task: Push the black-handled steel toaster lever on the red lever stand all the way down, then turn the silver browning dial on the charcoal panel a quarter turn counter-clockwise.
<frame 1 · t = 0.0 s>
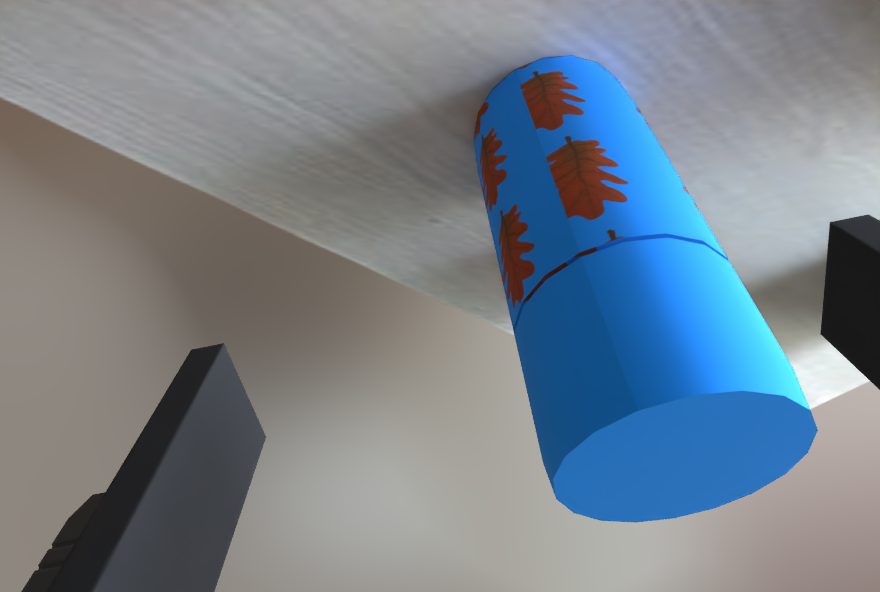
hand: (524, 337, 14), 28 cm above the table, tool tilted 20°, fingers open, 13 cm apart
thermos: (549, 128, 42), on the table
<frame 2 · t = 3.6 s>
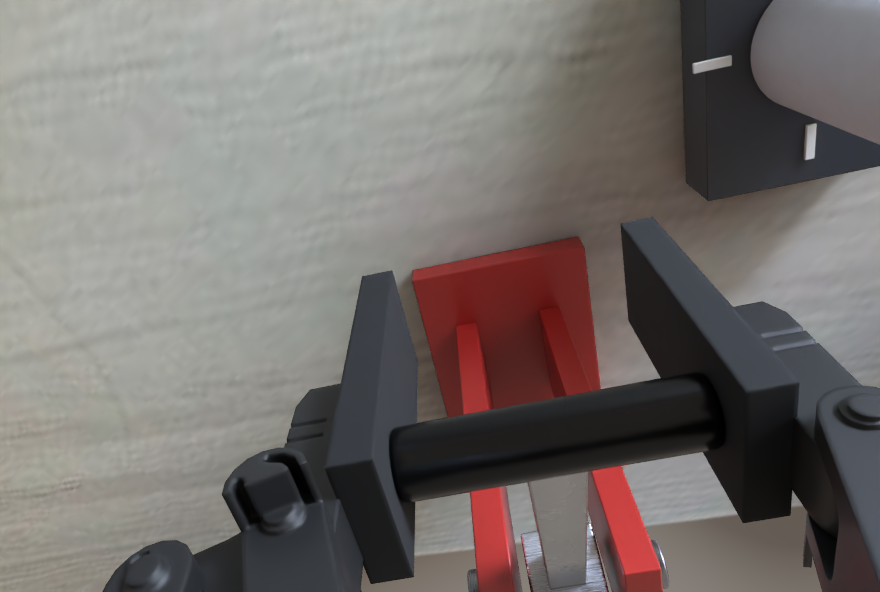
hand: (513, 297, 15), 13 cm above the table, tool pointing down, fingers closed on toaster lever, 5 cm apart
red lever stand: (511, 340, 32), on the table
dial panel: (781, 34, 25), on the table
toaster lever: (560, 532, 16), point 16 cm above the table, hinge at 25.0°, touching gripper
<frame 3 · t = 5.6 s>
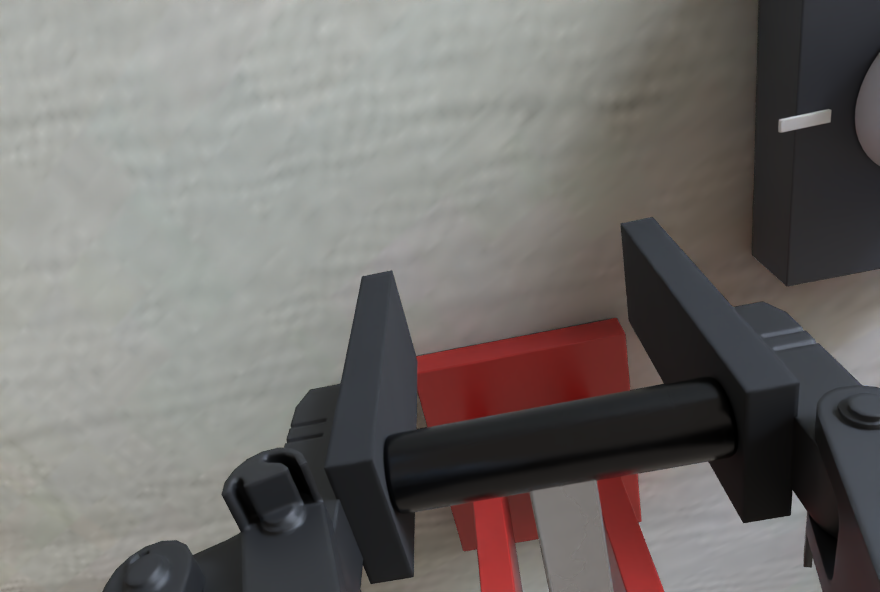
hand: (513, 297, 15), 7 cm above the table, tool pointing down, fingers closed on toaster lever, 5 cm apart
red lever stand: (531, 434, 27), on the table
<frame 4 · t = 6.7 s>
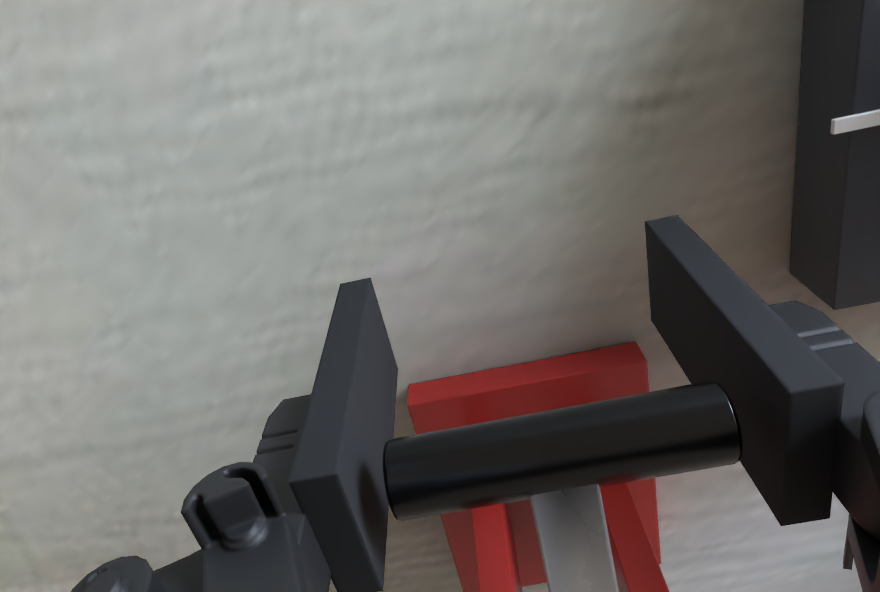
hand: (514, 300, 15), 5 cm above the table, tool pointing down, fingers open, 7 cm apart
red lever stand: (540, 468, 24), on the table
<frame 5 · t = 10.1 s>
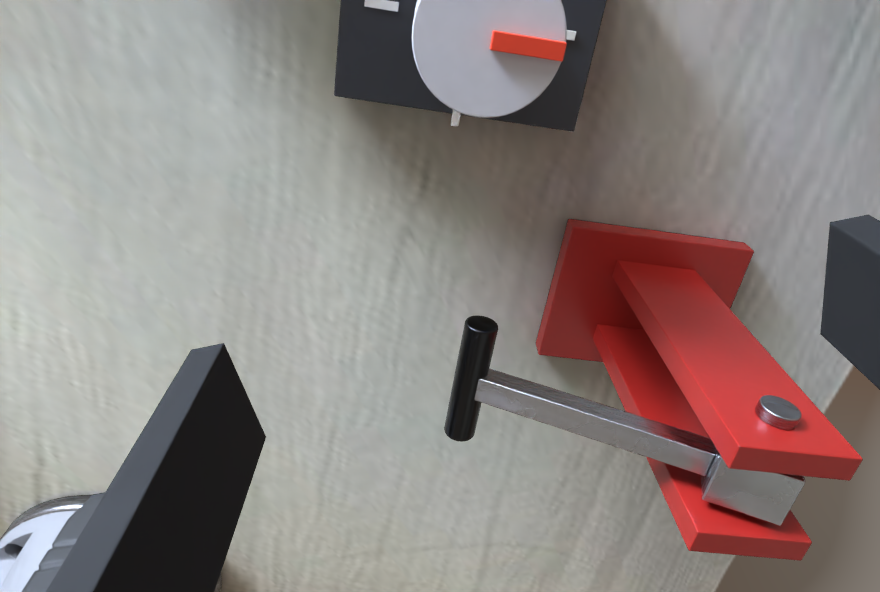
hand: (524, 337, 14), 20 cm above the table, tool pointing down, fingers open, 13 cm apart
browning dial: (479, 27, 23), point 7 cm above the table, hinge at 0.0°
red lever stand: (635, 295, 36), on the table
dial panel: (467, 14, 29), on the table
toaster lever: (611, 426, 25), point 12 cm above the table, hinge at -20.3°
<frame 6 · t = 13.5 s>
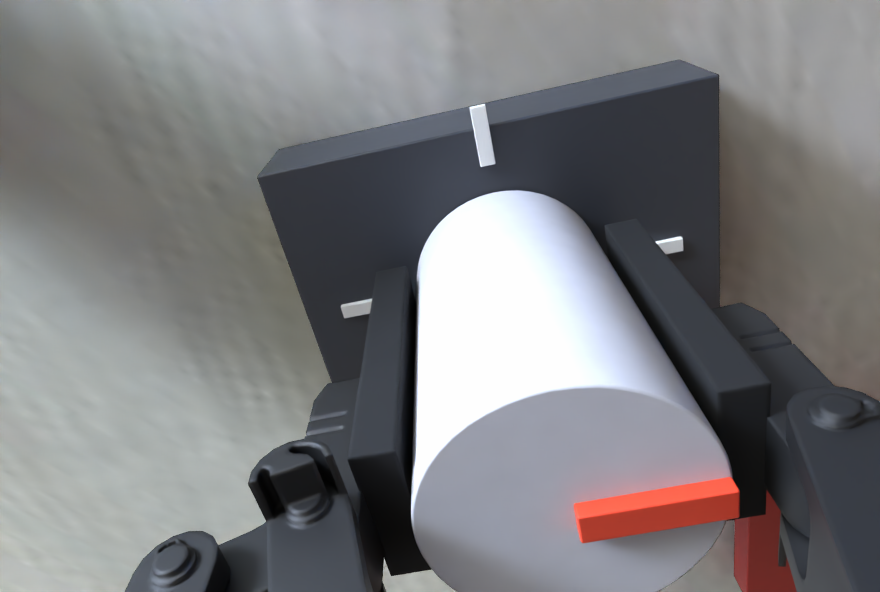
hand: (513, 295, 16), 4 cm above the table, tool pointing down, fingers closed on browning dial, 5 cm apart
browning dial: (532, 368, 13), point 7 cm above the table, hinge at 0.0°, touching gripper
red lever stand: (868, 485, 24), on the table
dial panel: (498, 239, 19), on the table
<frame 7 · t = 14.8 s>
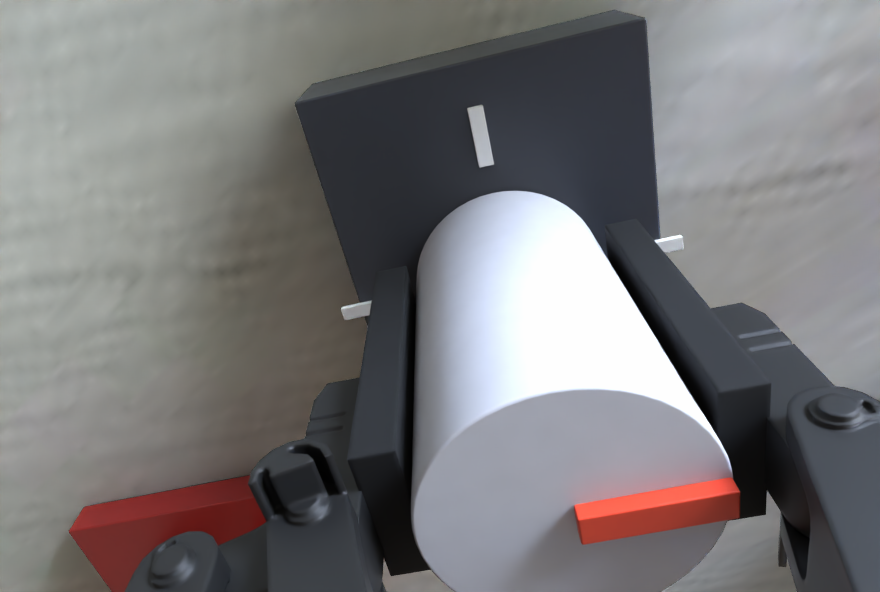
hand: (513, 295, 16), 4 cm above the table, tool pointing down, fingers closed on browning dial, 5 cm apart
browning dial: (532, 369, 13), point 7 cm above the table, hinge at 89.9°, touching gripper
red lever stand: (235, 575, 25), on the table
dial panel: (498, 239, 19), on the table
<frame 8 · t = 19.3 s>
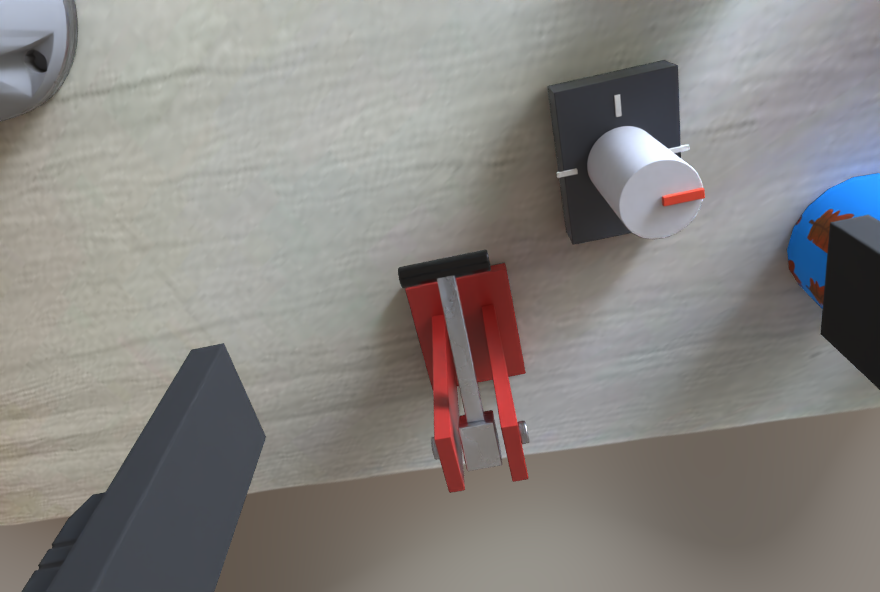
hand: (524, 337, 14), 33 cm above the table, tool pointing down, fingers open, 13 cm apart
thermos: (853, 237, 49), on the table
browning dial: (640, 179, 39), point 7 cm above the table, hinge at 90.2°
red lever stand: (466, 325, 52), on the table
dial panel: (612, 151, 45), on the table
toaster lever: (463, 361, 39), point 12 cm above the table, hinge at -20.3°
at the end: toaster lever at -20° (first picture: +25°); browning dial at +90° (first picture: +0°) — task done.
